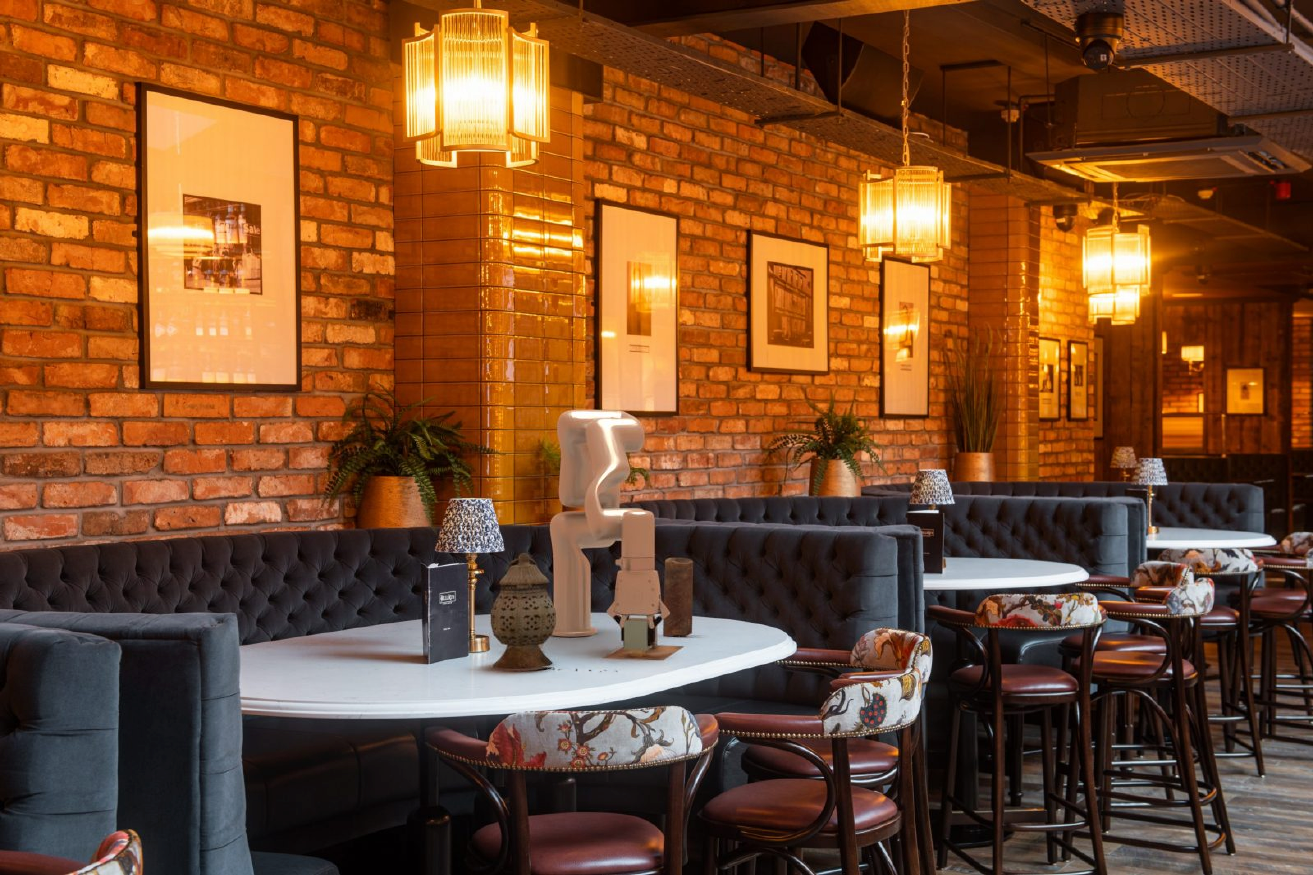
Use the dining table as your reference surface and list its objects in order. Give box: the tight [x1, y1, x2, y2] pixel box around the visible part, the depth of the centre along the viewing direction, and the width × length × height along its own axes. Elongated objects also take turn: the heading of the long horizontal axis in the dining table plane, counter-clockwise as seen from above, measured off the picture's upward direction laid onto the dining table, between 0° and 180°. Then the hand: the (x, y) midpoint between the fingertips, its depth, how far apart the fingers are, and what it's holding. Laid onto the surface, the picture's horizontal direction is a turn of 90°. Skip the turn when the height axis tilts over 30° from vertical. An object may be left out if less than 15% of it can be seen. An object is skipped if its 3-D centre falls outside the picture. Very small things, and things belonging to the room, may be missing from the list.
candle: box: [662, 557, 694, 638], centre depth 348 cm, size 8×7×20 cm
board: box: [602, 644, 685, 661], centre depth 318 cm, size 14×22×1 cm, turn 166°
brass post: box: [631, 650, 645, 657], centre depth 312 cm, size 3×3×6 cm
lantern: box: [490, 552, 556, 673], centre depth 302 cm, size 14×14×25 cm
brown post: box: [650, 625, 658, 649], centre depth 324 cm, size 3×3×6 cm
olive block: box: [623, 617, 652, 651], centre depth 312 cm, size 5×5×7 cm
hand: (638, 644), depth 312 cm, fingers closed on olive block, 4 cm apart
